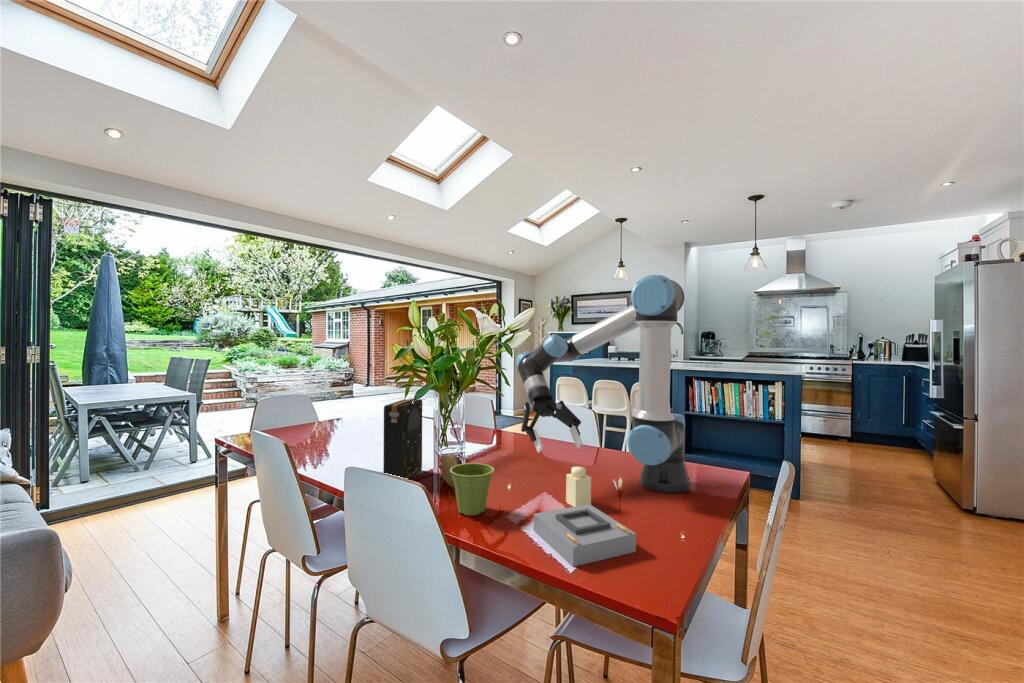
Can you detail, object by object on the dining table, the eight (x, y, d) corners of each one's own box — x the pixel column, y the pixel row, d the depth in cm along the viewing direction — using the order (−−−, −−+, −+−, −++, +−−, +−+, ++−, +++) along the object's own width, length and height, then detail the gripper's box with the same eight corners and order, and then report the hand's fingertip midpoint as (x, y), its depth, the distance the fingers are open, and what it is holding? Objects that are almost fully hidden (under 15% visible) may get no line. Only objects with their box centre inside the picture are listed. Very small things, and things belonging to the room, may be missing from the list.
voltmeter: (405, 484, 136) (405, 405, 136) (380, 482, 138) (380, 404, 137) (425, 469, 151) (425, 398, 151) (402, 468, 153) (402, 397, 153)
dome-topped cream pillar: (581, 499, 125) (581, 465, 125) (590, 506, 120) (591, 470, 120) (566, 502, 123) (566, 467, 123) (575, 508, 118) (575, 472, 118)
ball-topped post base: (589, 519, 111) (589, 500, 111) (635, 551, 95) (636, 529, 95) (533, 530, 105) (533, 509, 105) (573, 566, 88) (573, 542, 88)
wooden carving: (477, 491, 131) (477, 458, 130) (464, 495, 127) (465, 461, 127) (445, 478, 143) (445, 448, 142) (433, 481, 139) (434, 450, 139)
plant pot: (501, 514, 114) (502, 471, 114) (459, 523, 108) (460, 478, 108) (482, 499, 124) (482, 460, 124) (443, 507, 118) (443, 466, 118)
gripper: (566, 397, 151) (590, 450, 137) (500, 400, 141) (518, 458, 127) (575, 383, 146) (600, 437, 132) (506, 386, 136) (526, 445, 123)
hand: (560, 448), depth 130 cm, fingers open, 13 cm apart
